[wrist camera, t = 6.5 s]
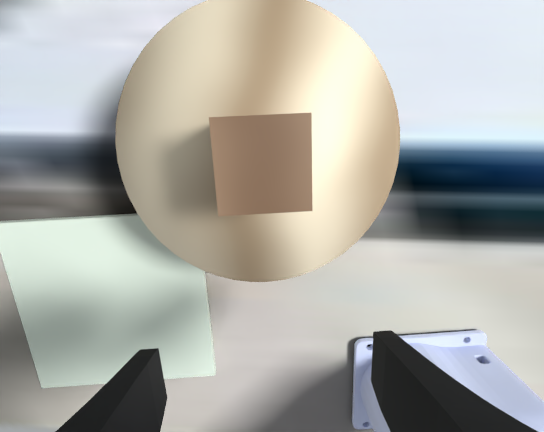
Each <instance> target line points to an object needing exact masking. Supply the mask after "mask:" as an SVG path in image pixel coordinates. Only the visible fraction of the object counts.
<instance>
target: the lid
mask: <svg viewBox="0 0 544 432" xmlns="http://www.w3.org/2000/svg"><path fill="white" fill-rule="evenodd" d="M115 143H116V152H117V161H118V165H119V169H120V174H121V178H122V181H123V184H124V186H125V189H126V191H127V194H128V197H129V199H130V201H131V202H132V204H133V206H134V208H135V210H136V212H137V214H138V215H139V216H140V218H141V219H142V221H143V222H144V224H145V225H146V226H147V228H148V229H149V230H150V231H151V232H152V233H153V234H154V236H155V237H156V238H157V239H158V240H159V241H160V242H161V243H162V244H163V245H165V246H166V247H167V248H168V249H169V250H170V251H172V252H173V253H174V254H175V255H177V256H178V257H180V258H181V259H183V260H184V261H186V262H187V263H189V264H191V265H193V266H195V267H197V268H199V269H201V270H203V271H206V272H209V273H212V274H214V275H217V276H220V277H225V278H229V279H233V280H240V281H249V282H269V281H277V280H285V279H289V278H293V277H297V276H301V275H303V274H306V273H309V272H311V271H314V270H316V269H318V268H320V267H322V266H324V265H326V264H328V263H330V262H331V261H333V260H334V259H336V258H337V257H339V256H340V255H342V254H343V253H344V252H346V251H347V250H348V249H349V248H350V247H351V246H352V245H354V244H355V243H356V242H357V241H358V240H359V239H360V238H361V237H362V235H363V234H364V233H365V232H366V231H367V230H368V229H369V227H370V226H371V224H372V223H373V222H374V220H375V219H376V217H377V216H378V214H379V213H380V211H381V209H382V207H383V205H384V203H385V201H386V199H387V197H388V194H389V192H390V189H391V187H392V184H393V181H394V177H395V173H396V169H397V165H398V157H399V149H400V126H399V118H398V110H397V106H396V102H395V98H394V95H393V91H392V88H391V86H390V83H389V81H388V79H387V76H386V74H385V72H384V70H383V68H382V66H381V65H380V63H379V61H378V59H377V58H376V56H375V54H374V53H373V52H372V51H371V49H370V48H369V47H368V45H367V44H366V43H365V41H364V40H363V39H362V38H361V37H360V36H359V35H358V34H357V33H356V32H355V31H354V30H353V29H352V28H351V27H350V26H349V25H347V24H346V23H345V22H343V21H342V20H341V19H339V18H338V17H337V16H335V15H334V14H333V13H331V12H329V11H327V10H325V9H323V8H322V7H320V6H318V5H316V4H314V3H312V2H309V1H306V0H207V1H205V2H202V3H200V4H198V5H195V6H193V7H191V8H189V9H188V10H186V11H185V12H183V13H181V14H180V15H178V16H177V17H175V18H174V19H172V20H171V21H170V22H169V23H168V24H167V25H165V26H164V27H163V28H162V29H161V30H160V31H158V32H157V34H156V35H155V36H154V37H153V38H152V39H151V40H150V42H149V43H148V44H147V45H146V46H145V47H144V49H143V50H142V52H141V53H140V55H139V57H138V58H137V60H136V61H135V63H134V64H133V66H132V69H131V71H130V73H129V75H128V77H127V79H126V82H125V84H124V87H123V91H122V94H121V97H120V101H119V105H118V112H117V118H116V137H115Z"/></svg>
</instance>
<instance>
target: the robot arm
mask: <svg viewBox="0 0 544 432" xmlns="http://www.w3.org/2000/svg"><path fill="white" fill-rule="evenodd" d="M466 337H467V338H466ZM464 338H466V339H464ZM486 341H487V335H486V334H485V333H484V332H483V331H481V330H473V331H459V332H445V333H431V334H417V335H404V336H398V335H396V334H395V333H394V332H392V331H379V332H373V338H362V339H358V340H357V341H356V342H355V345H354V375H353V406H352V424H353V427H354V428H355V429H359V430H360V429H373V430H374V432H544V401H543V400H542V399H541V398H540V397H539V396H538V395H537V394H536V393H535V392H534V391H532V390H531V389H530V388H529V387H528V386H527V385H526V384H525V383H524V382H523V381H522V380H521V379H520V378H519V377H518V376H517V375H516V374H515V373H514V372H513V371H512V370H511V369H510V368H509V367H508V366H507V365H505V364H504V363H503V362H502V361H501V360H500V359H499V358H498V357H497V356H496V355H495V354H494V353H493V352H492V351H491V350H490V349H489V348H488V347H487V346H486ZM369 344H371V346H369V347H367V345H369ZM166 401H167V394H166V388H165V383H164V377H163V371H162V365H161V360H160V354H159V348H154V349H141V350H139V351H138V352H137V353H136V354H135V355H134V356H133V357H132V358H131V359H130V360H129V361H128V362H127V363H126V364H125V365H124V366H123V367H122V368H121V369H120V370H119V371H118V372H117V373H116V374H115V375H114V376H113V377H112V378H111V379H110V380H109V381H108V382H107V383H106V384H105V385H104V386H103V387H102V388H101V389H100V390H99V391H98V392H97V393H96V394H95V395H94V396H93V397H92V398H91V399H90V400H89V401H88V402H87V403H86V404H85V405H84V406H83V407H82V408H81V409H80V410H79V411H78V412H76V413H75V414H74V415H73V416H72V417H71V418H70V419H69V420H68V421H67V422H66V423H65V424H64V425H62V426H61V427H60V428H59V429H58V430H57V431H56V432H160V429H161V425H162V420H163V416H164V411H165V406H166ZM364 422H365V423H364Z"/></svg>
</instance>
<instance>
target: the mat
mask: <svg viewBox="0 0 544 432" xmlns="http://www.w3.org/2000/svg"><path fill="white" fill-rule="evenodd" d="M0 253H1V256H2V259H3V263H4V266H5V269H6V273H7V276H8V279H9V282H10V286H11V289H12V292H13V296H14V299H15V302H16V305H17V309H18V312H19V315H20V319H21V322H22V325H23V328H24V332H25V335H26V338H27V342H28V345H29V348H30V351H31V355H32V358H33V361H34V365H35V368H36V371H37V374H38V378H39V381H40V384H41V388H53V387H66V386H80V385H93V384H106V383H107V382H108V381H109V380H110V379H111V378H112V377H113V376H114V375H115V374H116V373H117V372H118V371H119V370H120V369H121V368H122V367H123V366H124V365H125V364H126V363H127V362H128V361H129V360H130V359H131V358H132V357H133V356H134V355H135V354H136V353H137V352H138V351H139V350H141V349H154V348H159V354H160V360H161V365H162V371H163V377H164V379H173V378H187V377H200V376H214V375H215V374H216V365H215V356H214V347H213V338H212V329H211V321H210V312H209V303H208V294H207V285H206V277H205V271H203V270H201V269H199V268H197V267H195V266H193V265H191V264H189V263H187V262H186V261H184V260H183V259H181V258H180V257H178V256H177V255H175V254H174V253H173V252H172V251H170V250H169V249H168V248H167V247H166V246H165V245H163V244H162V243H161V242H160V241H159V240H158V239H157V238H156V237H155V236H154V234H153V233H152V232H151V231H150V230H149V229H148V228H147V226H146V225H145V224H144V222H143V221H142V219H141V218H140V216H139V215H138V214H137V213H136V214H118V215H101V216H83V217H65V218H47V219H29V220H11V221H0Z"/></svg>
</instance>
